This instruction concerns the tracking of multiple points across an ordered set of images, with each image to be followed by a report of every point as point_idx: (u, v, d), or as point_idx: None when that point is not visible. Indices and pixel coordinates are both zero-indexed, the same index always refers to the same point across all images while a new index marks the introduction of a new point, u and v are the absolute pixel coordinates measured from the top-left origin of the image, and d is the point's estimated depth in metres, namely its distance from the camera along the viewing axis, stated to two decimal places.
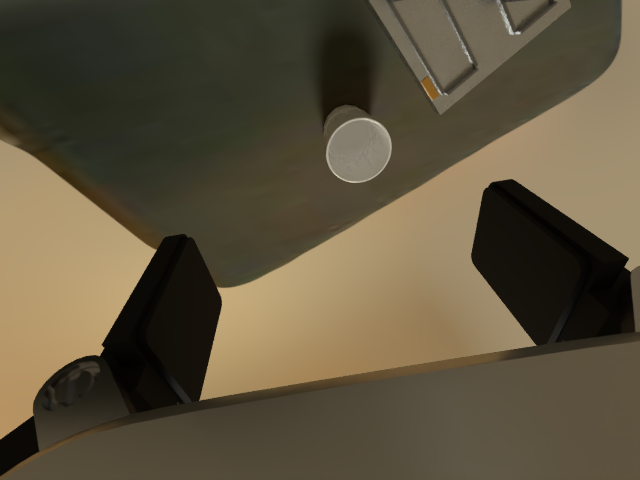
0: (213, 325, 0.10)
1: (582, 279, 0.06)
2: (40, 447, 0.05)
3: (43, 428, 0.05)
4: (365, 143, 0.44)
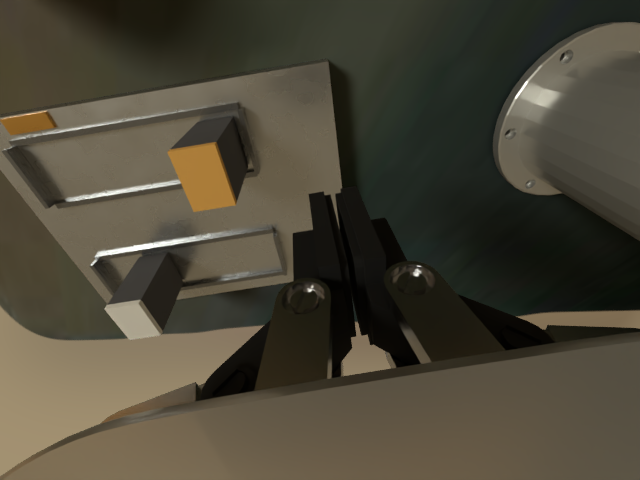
0: None
1: (360, 274, 0.07)
2: (269, 332, 0.06)
3: (275, 318, 0.06)
4: None
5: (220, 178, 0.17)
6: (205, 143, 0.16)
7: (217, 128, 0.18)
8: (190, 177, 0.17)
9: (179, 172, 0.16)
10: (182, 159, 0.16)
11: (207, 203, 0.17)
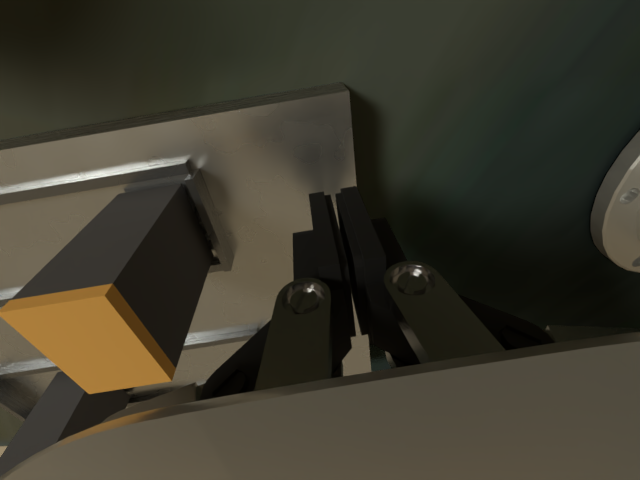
0: None
1: (360, 274, 0.07)
2: (269, 332, 0.06)
3: (276, 318, 0.06)
4: None
5: (131, 347, 0.08)
6: (89, 286, 0.07)
7: (139, 222, 0.10)
8: (65, 349, 0.08)
9: (38, 342, 0.08)
10: (37, 323, 0.07)
11: (113, 382, 0.09)
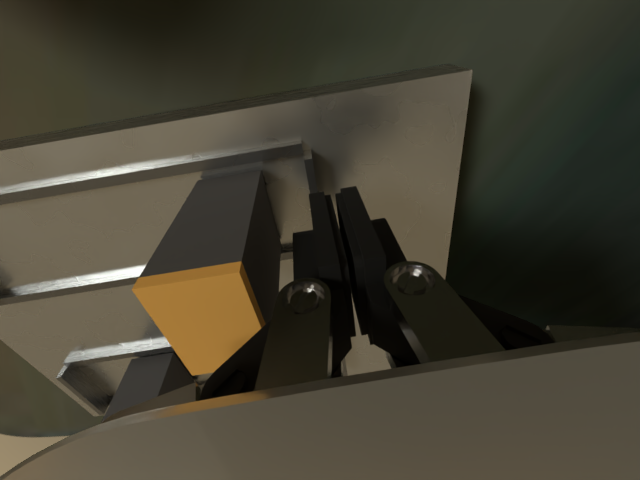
0: None
1: (360, 274, 0.07)
2: (269, 332, 0.06)
3: (276, 318, 0.06)
4: None
5: (247, 326, 0.08)
6: (217, 263, 0.07)
7: (236, 206, 0.10)
8: (184, 328, 0.08)
9: (161, 320, 0.08)
10: (166, 300, 0.07)
11: (219, 363, 0.09)
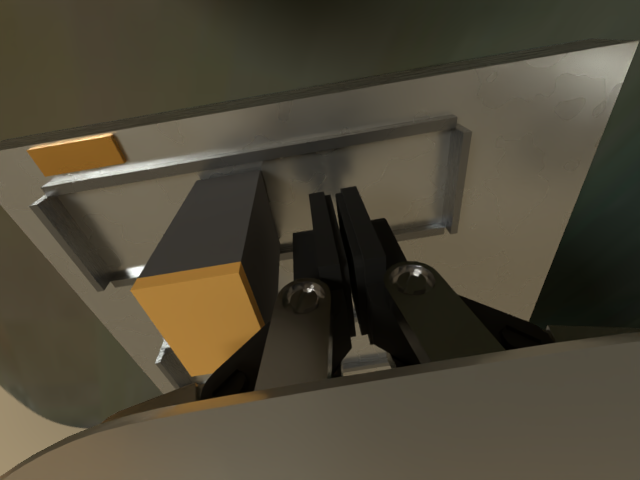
0: None
1: (360, 274, 0.07)
2: (269, 332, 0.06)
3: (275, 318, 0.06)
4: None
5: (247, 327, 0.08)
6: (216, 264, 0.07)
7: (236, 206, 0.10)
8: (183, 329, 0.08)
9: (160, 322, 0.08)
10: (165, 301, 0.07)
11: (218, 364, 0.09)
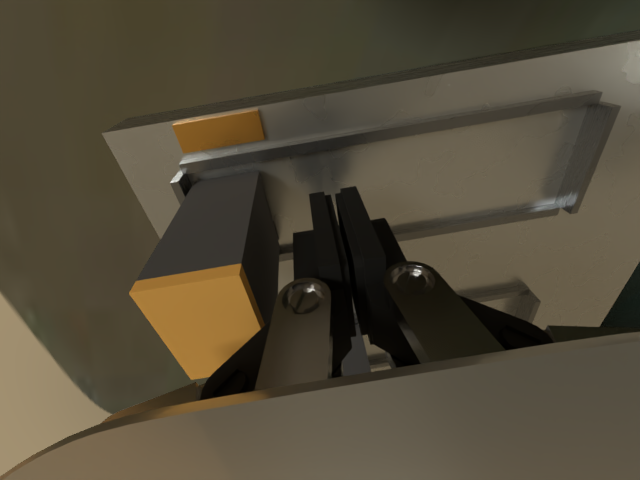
0: None
1: (360, 274, 0.07)
2: (269, 331, 0.06)
3: (276, 318, 0.06)
4: None
5: (247, 329, 0.08)
6: (216, 266, 0.07)
7: (235, 207, 0.09)
8: (183, 331, 0.08)
9: (159, 324, 0.07)
10: (165, 304, 0.07)
11: (218, 366, 0.09)
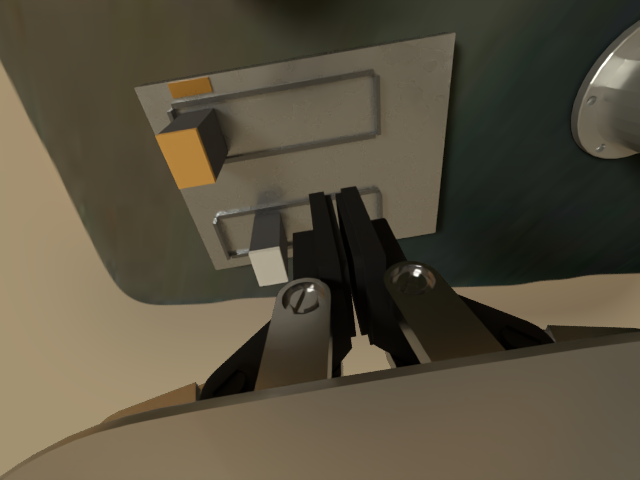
0: None
1: (360, 274, 0.07)
2: (269, 332, 0.06)
3: (275, 318, 0.06)
4: None
5: (201, 159, 0.20)
6: (187, 129, 0.19)
7: (198, 117, 0.21)
8: (175, 158, 0.20)
9: (166, 153, 0.19)
10: (168, 142, 0.19)
11: (190, 181, 0.20)
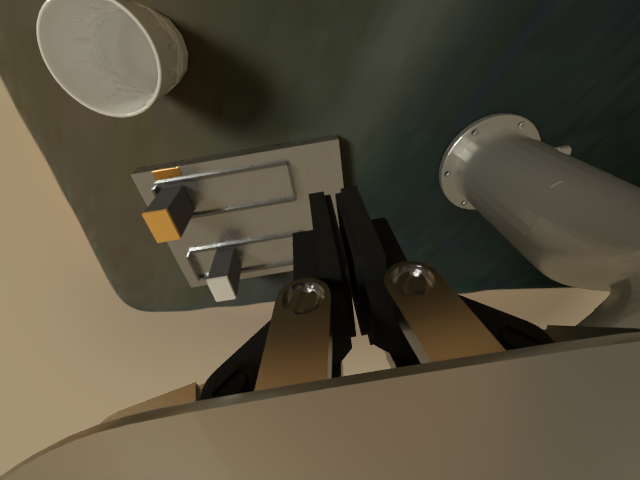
0: None
1: (360, 274, 0.07)
2: (269, 332, 0.06)
3: (276, 318, 0.06)
4: (119, 68, 0.28)
5: (170, 226, 0.32)
6: (161, 209, 0.31)
7: (170, 196, 0.33)
8: (154, 226, 0.32)
9: (148, 223, 0.31)
10: (149, 217, 0.31)
11: (164, 238, 0.33)
